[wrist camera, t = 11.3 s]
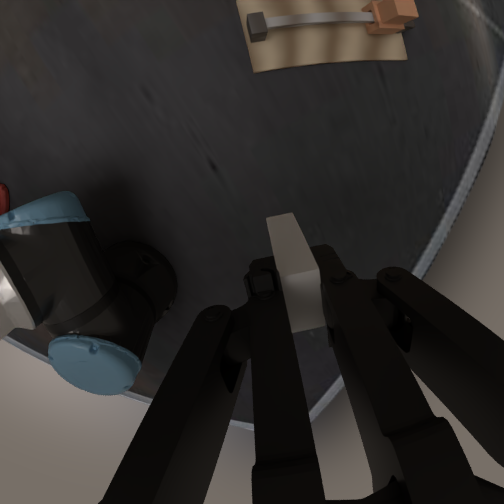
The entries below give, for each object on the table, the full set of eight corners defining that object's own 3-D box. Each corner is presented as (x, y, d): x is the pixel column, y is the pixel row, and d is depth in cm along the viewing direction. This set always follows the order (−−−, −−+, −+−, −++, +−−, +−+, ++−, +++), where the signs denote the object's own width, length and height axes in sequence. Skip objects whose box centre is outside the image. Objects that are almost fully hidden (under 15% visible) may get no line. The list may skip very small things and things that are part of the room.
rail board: (253, 73, 38) (255, 66, 33) (236, 2, 33) (235, -14, 28) (404, 60, 37) (425, 55, 31) (386, -5, 32) (404, -17, 26)
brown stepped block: (368, 33, 33) (396, 19, 25) (361, 9, 31) (387, -11, 23) (391, 34, 33) (423, 21, 25) (385, 10, 31) (414, -7, 23)
